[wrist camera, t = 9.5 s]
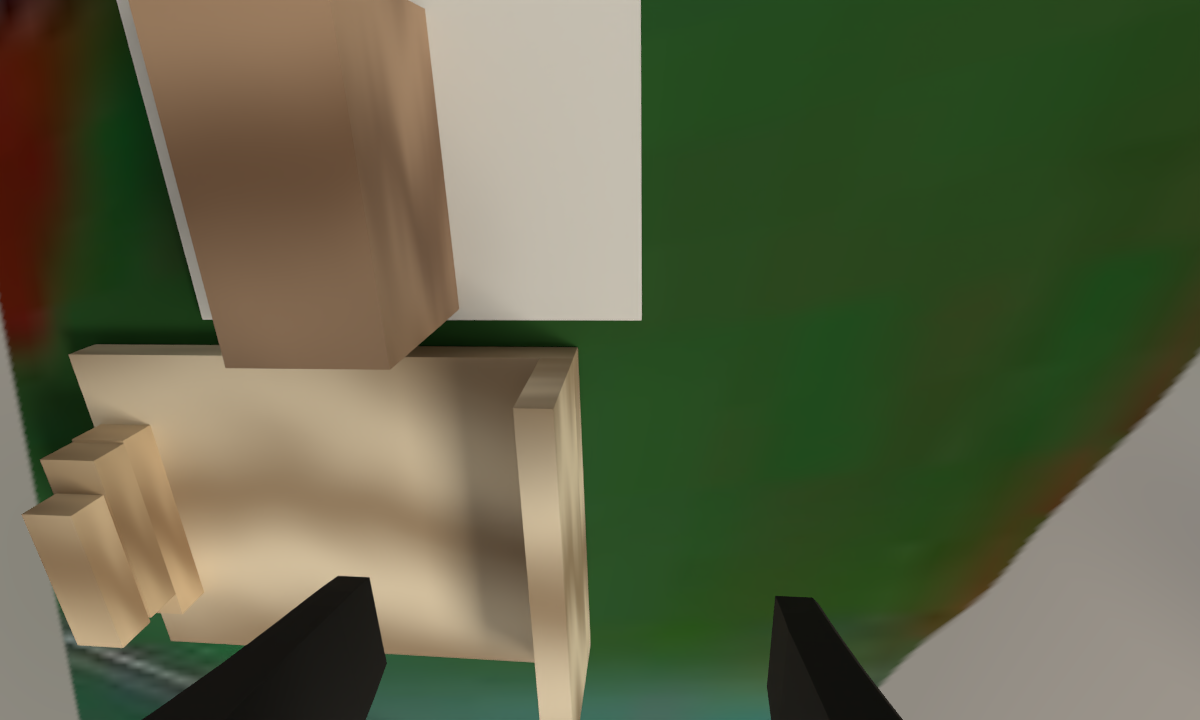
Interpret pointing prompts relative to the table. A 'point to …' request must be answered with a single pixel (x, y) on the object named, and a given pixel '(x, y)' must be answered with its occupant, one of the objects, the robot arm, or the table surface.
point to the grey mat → (521, 155)
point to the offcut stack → (113, 535)
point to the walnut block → (306, 174)
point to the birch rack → (376, 495)
